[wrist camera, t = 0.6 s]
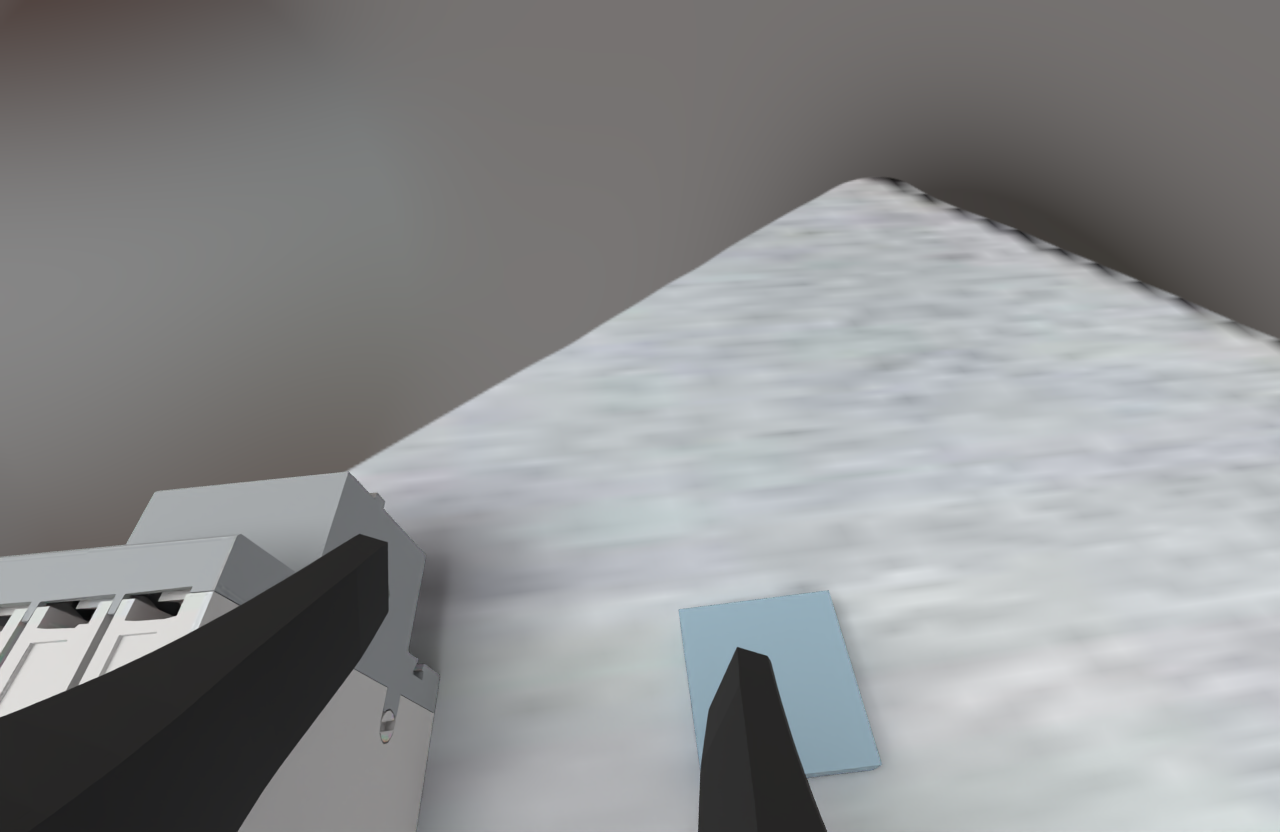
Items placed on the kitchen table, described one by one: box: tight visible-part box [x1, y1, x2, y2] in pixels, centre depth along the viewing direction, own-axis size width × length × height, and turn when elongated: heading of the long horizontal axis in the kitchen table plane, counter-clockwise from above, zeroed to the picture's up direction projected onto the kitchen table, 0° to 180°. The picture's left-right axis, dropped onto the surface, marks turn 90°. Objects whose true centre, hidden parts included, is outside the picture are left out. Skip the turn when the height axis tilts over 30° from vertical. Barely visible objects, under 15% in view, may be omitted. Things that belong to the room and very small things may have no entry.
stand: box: [679, 590, 882, 778], centre depth 25 cm, size 7×7×2 cm
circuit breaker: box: [0, 472, 440, 832], centre depth 21 cm, size 8×14×15 cm, turn 3°
